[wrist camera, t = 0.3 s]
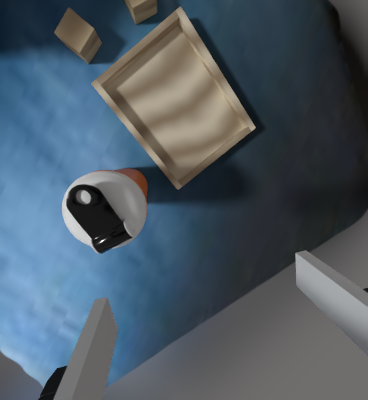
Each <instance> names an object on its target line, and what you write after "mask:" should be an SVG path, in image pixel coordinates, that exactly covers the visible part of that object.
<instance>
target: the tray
mask: <svg viewBox="0 0 368 400" xmlns="http://www.w3.org/2000/svg"><path fill="white" fill-rule="evenodd" d="M91 84H92V85H93V87H94V88H95V89H96V90H97V92H98V93H99V94H100V95H101V96H102V98H103V99H104V100H105V101H106V103H107V104H108V105H109V106H110V107H111V109H112V110H113V111H114V112H115V114H116V115H117V116H118V117H119V118H120V120H121V121H122V122H123V123H124V125H125V126H126V127H127V128H128V130H129V131H130V132H131V133H132V134H133V136H134V137H135V138H136V139H137V141H138V142H139V143H140V144H141V145H142V147H143V148H144V149H145V150H146V152H147V153H148V154H149V155H150V157H151V158H152V159H153V160H154V161H155V163H156V164H157V165H158V166H159V168H160V169H161V170H162V171H163V172H164V174H165V175H166V176H167V177H168V179H169V180H170V181H171V182H172V184H173V185H174V186H175V187H176V188H177V190H179V189H180V188H181V187H183V186H184V185H185V184H186V183H188V182H189V181H190V180H191V179H193V178H194V177H195V176H196V175H198V174H199V173H200V172H201V171H203V170H204V169H205V168H206V167H208V166H209V165H210V164H211V163H213V162H214V161H215V160H216V159H218V158H219V157H220V156H221V155H223V154H224V153H225V152H226V151H228V150H229V149H230V148H231V147H233V146H234V145H235V144H236V143H238V142H239V141H240V140H241V139H243V138H244V137H245V136H246V135H248V134H249V133H250V132H251V131H253V130H254V129H255V128H256V127H255V126H254V124H253V122H252V121H251V119H250V118H249V116H248V114H247V113H246V111H245V109H244V108H243V106H242V105H241V103H240V101H239V100H238V98H237V97H236V95H235V93H234V92H233V90H232V88H231V87H230V85H229V84H228V82H227V80H226V79H225V77H224V76H223V74H222V72H221V71H220V69H219V67H218V66H217V64H216V63H215V61H214V59H213V58H212V56H211V55H210V53H209V51H208V50H207V48H206V46H205V45H204V43H203V42H202V40H201V38H200V37H199V35H198V34H197V32H196V30H195V29H194V27H193V25H192V24H191V22H190V21H189V19H188V17H187V16H186V14H185V13H184V11H183V9H182V8H181V6H180V7H179V8H178V9H176V10H175V11H174V12H173V13H172V14H171V15H170V16H168V17H167V18H166V19H165V20H164V21H163V22H161V23H160V24H159V25H158V26H157V27H156V28H155V29H153V30H152V31H151V32H150V33H149V34H148V35H147V36H145V37H144V38H143V39H142V40H141V41H140V42H138V43H137V44H136V45H135V46H134V47H133V48H132V49H130V50H129V51H128V52H127V53H126V54H125V55H123V56H122V57H121V58H120V59H119V60H118V61H117V62H115V63H114V64H113V65H112V66H111V67H110V68H108V69H107V70H106V71H105V72H104V73H103V74H102V75H100V76H99V77H98V78H97V79H96V80H95V81H93V82H92V83H91Z"/></svg>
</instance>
